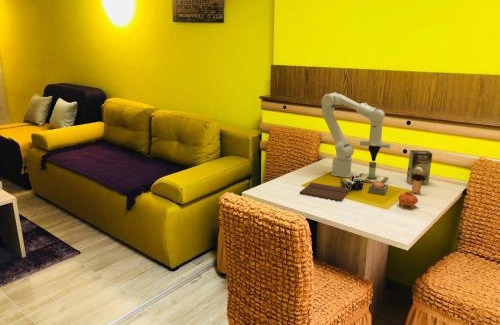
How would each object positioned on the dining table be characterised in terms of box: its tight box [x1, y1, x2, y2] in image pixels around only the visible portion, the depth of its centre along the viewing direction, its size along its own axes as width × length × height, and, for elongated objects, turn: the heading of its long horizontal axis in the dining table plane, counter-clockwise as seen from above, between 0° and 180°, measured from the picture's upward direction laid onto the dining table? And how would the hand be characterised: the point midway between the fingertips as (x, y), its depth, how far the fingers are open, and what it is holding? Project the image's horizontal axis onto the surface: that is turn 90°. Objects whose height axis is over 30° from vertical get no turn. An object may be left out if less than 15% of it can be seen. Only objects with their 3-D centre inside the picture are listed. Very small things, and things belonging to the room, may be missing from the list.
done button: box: [374, 182, 385, 188], centre depth 191 cm, size 4×4×2 cm
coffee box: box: [405, 149, 433, 186], centre depth 202 cm, size 9×6×16 cm
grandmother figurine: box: [409, 167, 427, 195], centre depth 189 cm, size 8×4×13 cm, turn 62°
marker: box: [368, 161, 377, 179], centre depth 207 cm, size 3×3×8 cm
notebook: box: [299, 182, 352, 203], centre depth 191 cm, size 15×20×2 cm
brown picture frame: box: [357, 172, 389, 185], centre depth 209 cm, size 14×12×1 cm
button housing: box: [368, 183, 389, 196], centre depth 192 cm, size 7×7×3 cm
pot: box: [398, 191, 419, 209], centre depth 174 cm, size 8×8×7 cm
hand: (373, 160), depth 206 cm, fingers closed
